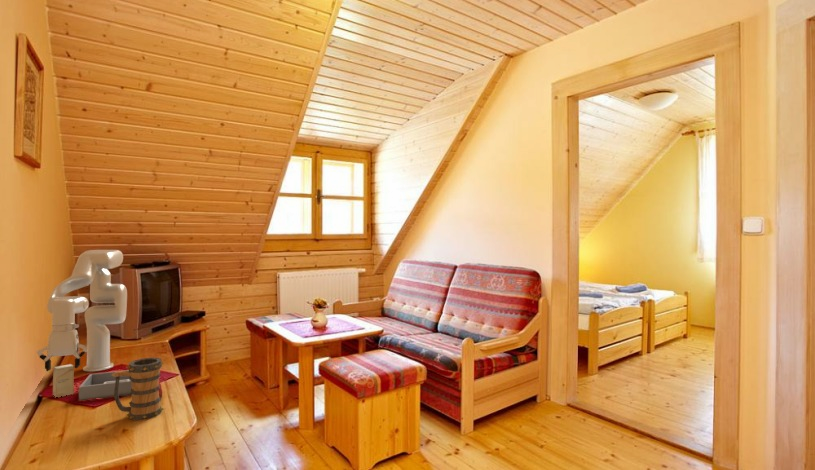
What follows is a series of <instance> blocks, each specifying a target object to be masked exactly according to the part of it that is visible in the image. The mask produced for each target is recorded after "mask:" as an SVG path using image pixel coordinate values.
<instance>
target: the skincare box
mask: <svg viewBox="0 0 815 470" xmlns="http://www.w3.org/2000/svg"><path fill="white" fill-rule="evenodd" d="M52 369H53V371H52V372H53V375H52V396H53V395H54V396H55V397H54V396H53V397H54V398H56V397H58V398H62V397H66V395H67V396H71V395H70V394H72V395H74V375H75V373H74V372H75V365H73V364H71V363H69V364H65V365H58V366H53V367H52ZM61 396H62V397H61Z"/></svg>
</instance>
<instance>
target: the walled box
mask: <svg viewBox="0 0 815 470" xmlns="http://www.w3.org/2000/svg"><path fill="white" fill-rule="evenodd" d="M116 371H117V370H116ZM116 371H108V372H107V371H105V372H97V373H90V374H89V375H88V376H87V377H86V379H85V380H84V381H83V382H82V383H81V384H79V386H78V402H79V401H82V400H88V399H96V398H106V399H108V398H107V397H114V389H115V382H116V377H114V376H112V374H113V373H115V372H116ZM123 371H129V369H126V370H125V369H124V370H123ZM130 377H131V376H120V380H119V387H118V395H119V396H122V397H127V396H129V397H130V396H132V394H131V393H130V392H131V389H132V382H131V380H129V378H130ZM114 398H115V397H114Z"/></svg>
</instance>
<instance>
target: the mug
mask: <svg viewBox="0 0 815 470" xmlns="http://www.w3.org/2000/svg"><path fill="white" fill-rule="evenodd" d="M164 364H165V362H164V361H163V360H162V358H159V357H144V358H140V359H134V360H133V361H130V362H129V363H128V365H127V366H126V367H125V369H127V370H129V371H124V370H116V372H115V371H114V372H115V373H113V374H112V376H114V377H116V382H115V389H114V401H115V404H116V406H117V408H118V409H119V411H121V412H124V413H125V412H126V413H127V414H125V416H126V417H128V419H129V420H131V419H132V421H145V420H149V419H152V418H156V417H157V416H159V415H160V414H161V413H162V411H163V410H165V408H163V407H162V406H161V403H160V402H161V400H162V398H160V397H159V389H160V385H159V382H160V377H161V376H162V373H161V368H162V366H163V365H164ZM120 376H131V377H130V378H129V380H131V382H132V389H131V392H130V393H131V394H132V395H131V400H130V401H129V403H128V404H129V406H125V405H123V404H122V402H121V400H120V397H119V395H118V387H119V380H120Z"/></svg>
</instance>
